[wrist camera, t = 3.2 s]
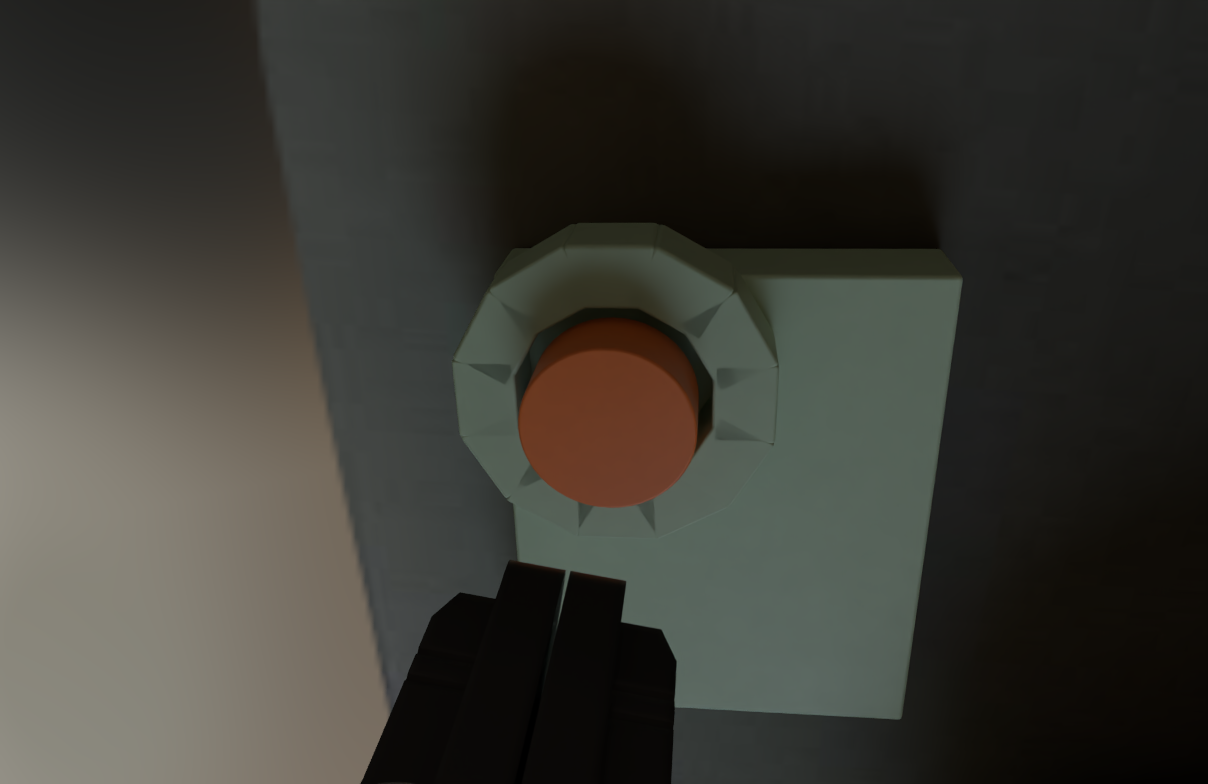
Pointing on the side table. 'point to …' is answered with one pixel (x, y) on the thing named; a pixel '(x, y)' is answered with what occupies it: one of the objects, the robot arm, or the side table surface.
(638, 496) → the button
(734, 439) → the green board with knob
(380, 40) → the side table surface
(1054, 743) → the side table surface
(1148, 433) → the side table surface
